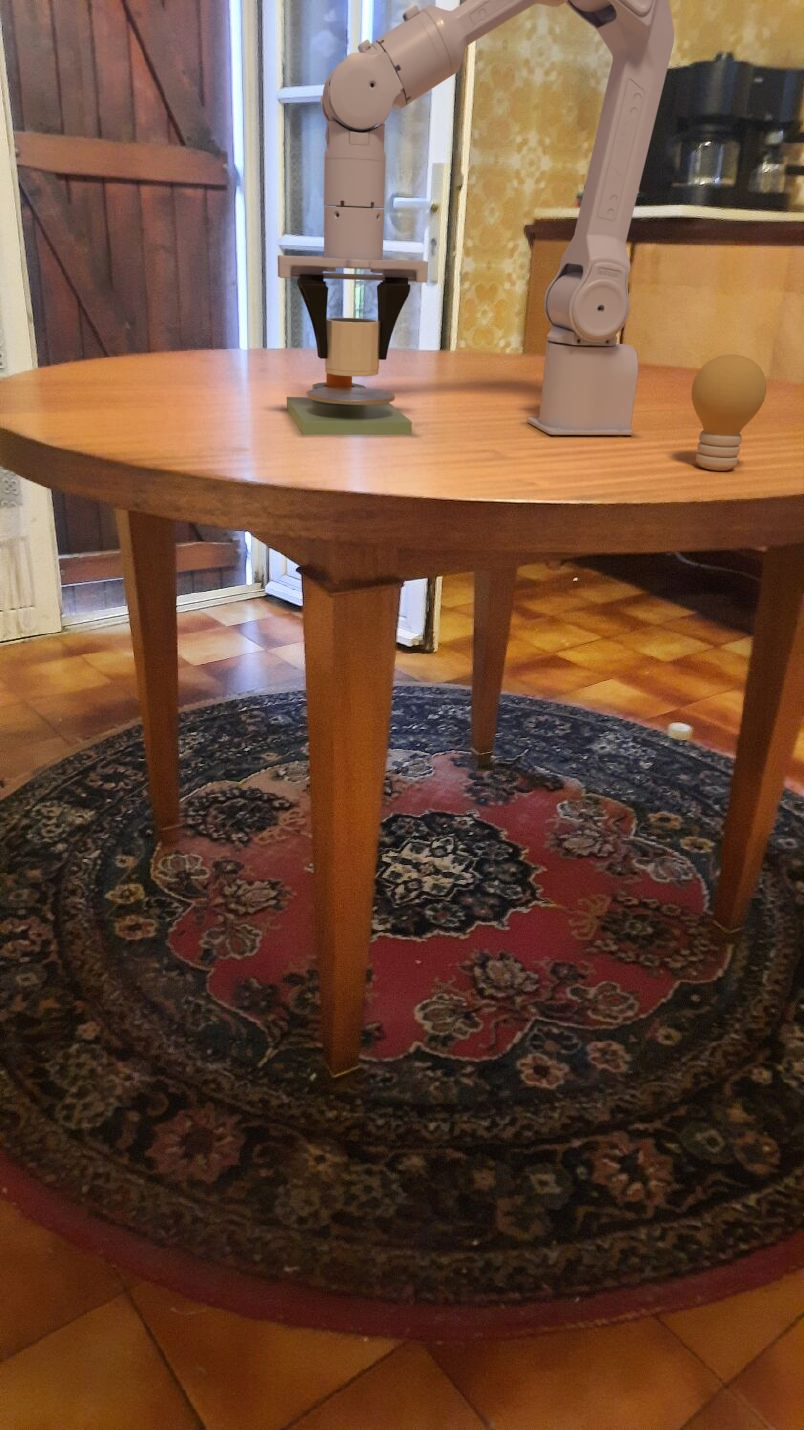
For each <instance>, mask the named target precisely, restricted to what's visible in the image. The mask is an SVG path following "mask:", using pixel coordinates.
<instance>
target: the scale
mask: <svg viewBox="0 0 804 1430" xmlns="http://www.w3.org/2000/svg"><path fill="white" fill-rule="evenodd" d="M352 387H358V388H367V387H366V386H365V385H364V384H359V383H354V382H352ZM311 388H312V389H317V388H326V381H324V382H316V383H314V384H312V387H311ZM312 389H311V390H312ZM286 410H287V413H288V414H289V415H290V417H291V419H292V420H293V422H294V423H295V425H296V426H297V428H298V430H299V431H300V433H301V435H302V436H412V429H413V422H412V421H411V420H410V419H409V417H407V416H406V415H405V414H403V413H402V412H401V411H400V410H398V409H397V408H396V407H395V406H394V405H392V404H391V402H388V403H383V404H371V405H348V404H334V403H326V402H320V401H315V400H312V399H310V398H308V397H307V396H286Z"/></svg>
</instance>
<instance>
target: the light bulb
mask: <svg viewBox="0 0 804 1430" xmlns="http://www.w3.org/2000/svg"><path fill="white" fill-rule="evenodd" d="M766 395H767V380H766V376H765V373H764V371H763V369H762V368H761V366H760V365H759V364H758V363H757V362H755V360H753V359H751V358H749V357H747V356H744V355H740V354H723V355H719V356H717V357H715V358H712V359H710V360H708V361H707V362H706V363H705V364H703V366H702V367H701V368H700V369H699V371H698V372H697V374H696V376H695V377H694V380H693V381H692V387H691V402H692V406H693V409H694V411H695V414H696V416H697V417H698V419H699V421H700V423H701V425H702V429H703V430H702V431H700V433H699V436H698V439H699V442H698V444H697V453H696V454H695V462H696V463H697V464H698V466H699V467H701V468H703V469H706V470H710V471H723V472H724V471H730V470H732V469H733V468H735V467H736V466H737V465H738V461H739V457H738V455H739V454H740V451H741V447H740V445H741V443H742V441H743V439H742V438H743V436H742V435H741V434H740V433H741V431H742V430H743V428H745V427H746V426H747V424H748V423H750V422H751V420H752V419H753V418H754V417H755V416H756V415H757V414H758V412H759V411H760V409H761V407H762V406H763V404H764V401H765V398H766Z"/></svg>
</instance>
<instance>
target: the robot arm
mask: <svg viewBox="0 0 804 1430" xmlns="http://www.w3.org/2000/svg"><path fill="white" fill-rule="evenodd" d="M563 4H566V5H567V6H568V7H569V8H570V9H571V11H572V12H574V13H575V14H576V15H577V16H579V17H580V18H581V19H582V20H584V21H585V22H586V23H588V25H590V26H591V27H593V28H594V29H595V30H596V31H597V33H598V35H599V37H600V39H602V41H603V42H604V44H605V46H606V47H607V49H608V51H609V52H610V54H611V56H612V61H611V65H610V71H609V75H608V79H607V83H606V84H607V85H606V88H605V93H604V98H603V102H602V107H601V111H600V116H599V120H598V124H597V130H596V134H595V138H594V143H593V147H592V153H591V157H590V161H589V166H588V170H587V171H588V172H587V175H586V179H585V184H584V188H583V193H582V198H581V202H580V206H579V211H578V215H577V220H576V225H575V230H574V235H573V236H572V239H571V240H570V242H569V244H568V246H567V247H566V249H565V250H564V252H563V254H562V255H561V260H560V263H559V264H560V265H559V269H558V270H557V273H556V275H555V276H554V277H553V279H552V281H551V282H550V283H549V285H548V286H547V288H546V291H545V294H544V298H543V311H544V316H545V317H546V321H548V323H549V324H550V326H551V328H550V330H549V332H548V333H547V335H546V343H545V352H544V353H545V354H544V363H543V364H544V365H543V375H542V387H541V396H540V406H539V417H535V416H533V417H531V416H530V417H528V416H527V417H526V420H525V421H526V423H528V424H530V425H532V427H535V428H536V429H538V430H540V431H542V432H544V433H545V434H547V435H551V436H633V435H634V430H633V429H632V424H633V417H634V410H635V409H634V408H635V401H636V393H637V387H638V380H639V358H638V353H637V351H636V349H635V348H634V347H633V345H630V344H626V343H618V336H617V335H618V334H619V333H620V332H621V330H622V329H623V328H624V326H625V325H626V323H627V321H628V318H629V315H630V309H631V300H630V294H629V287H628V286H629V283H628V282H629V276H630V273H631V261H630V258H629V254H628V251H627V239H628V236H629V231H630V227H631V223H632V219H633V215H634V210H635V206H636V203H637V198H638V194H639V189H640V186H641V181H642V177H643V172H644V169H645V164H646V161H647V160H646V159H647V156H648V151H649V148H650V143H651V139H652V135H653V131H654V126H655V123H656V119H657V114H658V111H659V110H658V109H659V107H660V101H661V97H662V94H663V89H664V84H665V80H666V77H667V73H668V68H669V63H670V60H671V57H672V56H671V55H672V51H673V47H674V41H675V28H674V21H673V16H672V11H671V9H672V8H671V4H670V0H465V1H463V2H462V3H461V4H459V5H458V6H456V7H455V8H454V9H452V10H447V9H443V8H440V7H438V6H435V5H430V4H429V5H427V6H425V7H424V8H422V9H421V10H420V9H419V7H418V5H416V4H415V5H413V6H412V7H410V8H408V9H407V10H405V12H404V13H403V14H402V19H403V22H401V23H399V25H396V26H395V27H394V28H392V29H391V30H390V31H388V32H386V33H385V34H383V35H382V36H380V37H379V38H377V39H375V40H374V41H373V42H371V41H370V40H369V39H365V40H364V41H362V42H361V43H359V45H358V46H357V50H358V52H351V53H349V54H347V55H346V57H345V59H344V60H342V61H341V62H339V63H338V64H337V65H336V67H335V68H334V69H333V70H332V71H331V73H330V74H329V75H328V77H327V79H326V81H325V82H324V86H323V90H322V96H320V98H319V99H320V106H321V111H322V114H323V116H324V118H325V120H326V128H325V142H326V149H325V150H324V170H323V171H324V173H323V174H324V175H323V176H324V177H323V178H324V182H323V183H324V184H323V187H324V189H323V191H324V192H323V205H324V206H323V256H321V255H320V256H319V255H318V256H317V255H316V256H315V255H282V254H279V255H277V277H278V278H280V279H292V278H293V279H294V278H295V279H296V284H297V287H298V290H299V292H300V294H301V296H302V299H303V302H304V304H305V307H306V310H307V313H308V316H309V319H310V322H311V326H312V330H313V334H314V338H315V344H316V351H317V357H318V359H320V360H321V359H322V360H325V359H327V354H328V344H327V324H326V322H327V318H328V299H329V298H328V297H329V287H328V286H327V281H326V280H352V281H354V280H355V281H380V282H379V283H378V284H377V285H376V297H377V320H378V321H380V348H379V361H381V360H382V361H386V360H387V357H388V351H389V347H390V342H391V339H392V336H393V332H394V329H395V326H396V323H397V321H398V318H399V315H400V314H401V312H402V309H403V307H404V305H405V303H406V301H407V299H408V297H409V295H410V292H411V284H410V283H411V282H412V283H413V282H414V283H423V284H425V283H426V284H427V283H428V275H429V274H428V273H429V261H426V260H414V259H393V258H392V259H391V258H384V229H385V197H386V196H385V191H386V160H387V156H386V152H385V130H386V127H385V126H386V124H385V122H386V121H387V119H388V118H389V116H390V114H391V112H392V109H393V108H394V109H399V110H402V109H403V108H405V107H406V106H408V105H409V104H411V103H412V102H414V101H416V100H417V99H419V98H420V97H422V96H423V95H425V94H426V93H428V92H429V91H431V90H432V89H434V88H435V87H437V86H439V85H440V84H442V82H445V81H446V80H448V79H449V78H451V77H452V76H454V75H455V74H457V73H459V71H460V70H461V67H462V62H463V58H464V54H465V51H466V48H467V47H468V46H469V45H471V44H473V43H474V42H476V41H478V40H479V39H481V38H482V37H483V36H485V35H487V34H488V33H490V32H493V30H495V29H497V28H499V27H500V26H501V25H502V26H503V24H505V23H506V22H508V21H509V20H511V19H513V18H515V17H516V16H518V15H520V14H521V13H523V12H524V11H525V10H526V11H527V10H528V9H530V8H531V7H533V6H534V5H542V6H547V7H550V8H551V7H552V8H559V7H561V6H562V5H563ZM336 269H349V270H351V269H352V270H369V271H370V273H373V274H368V273H367V274H365V273H335V272H336ZM325 279H326V280H325ZM409 282H410V283H409Z"/></svg>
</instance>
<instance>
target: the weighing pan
mask: <svg viewBox="0 0 804 1430" xmlns="http://www.w3.org/2000/svg"><path fill="white" fill-rule="evenodd" d="M306 397H308V398H310V399H312V400H315V401H320V402H326V403H334V404H348V405H371V404H383V403H388V402H389V403H392V402H394V401H395V399H396V395H395V394H394V393H393V392H391V391H387V390H383V389H376V388H371V387H366V388H358V387H326V388H317V389H309V390H308V391H306Z"/></svg>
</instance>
